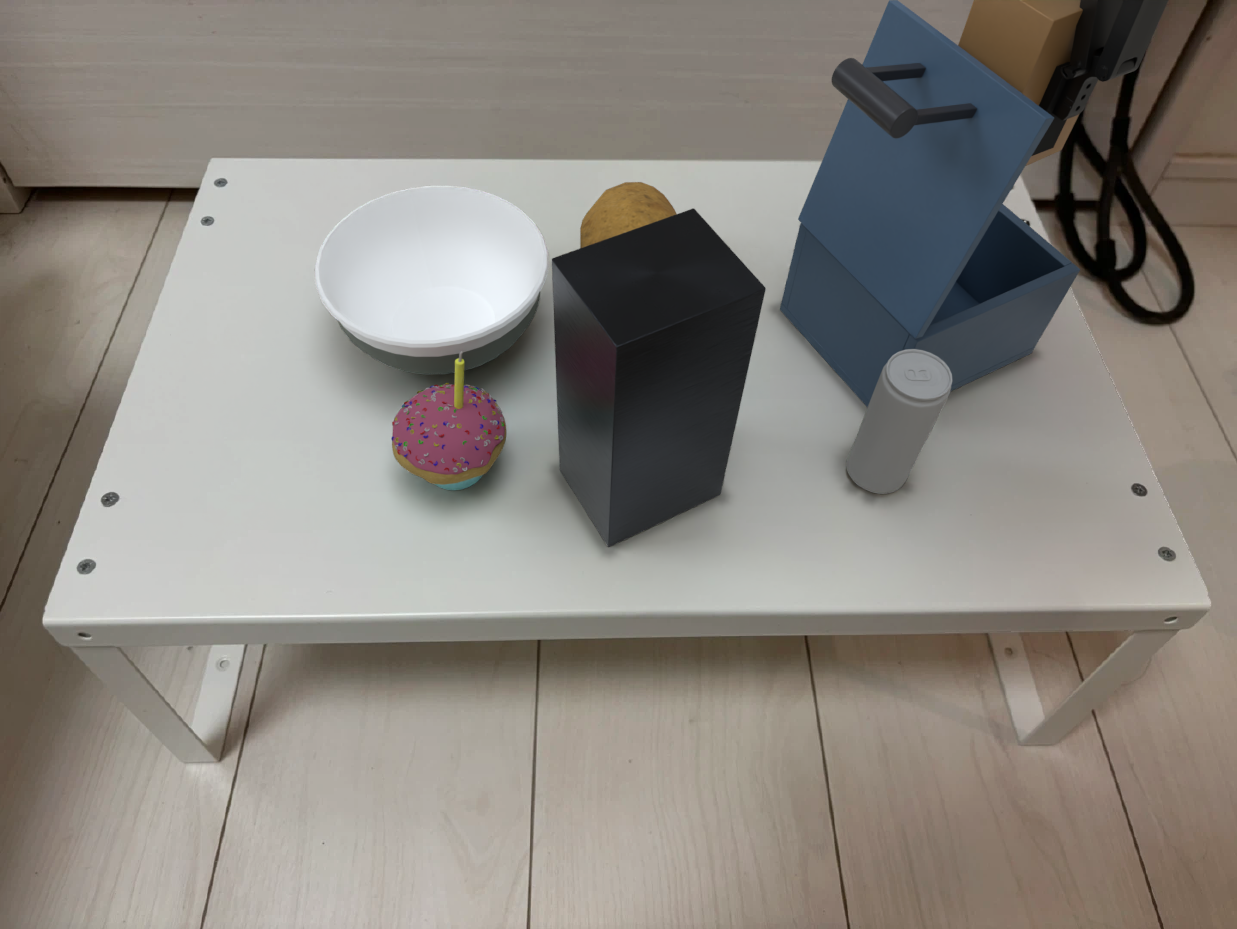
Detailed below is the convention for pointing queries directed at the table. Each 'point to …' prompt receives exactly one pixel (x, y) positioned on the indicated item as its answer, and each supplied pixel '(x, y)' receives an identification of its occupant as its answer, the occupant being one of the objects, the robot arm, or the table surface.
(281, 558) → the table surface
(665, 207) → the potato
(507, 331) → the bowl
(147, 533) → the table surface
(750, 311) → the stand
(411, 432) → the cupcake
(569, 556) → the table surface
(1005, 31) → the package
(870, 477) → the beverage can
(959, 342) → the chest
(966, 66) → the lid
